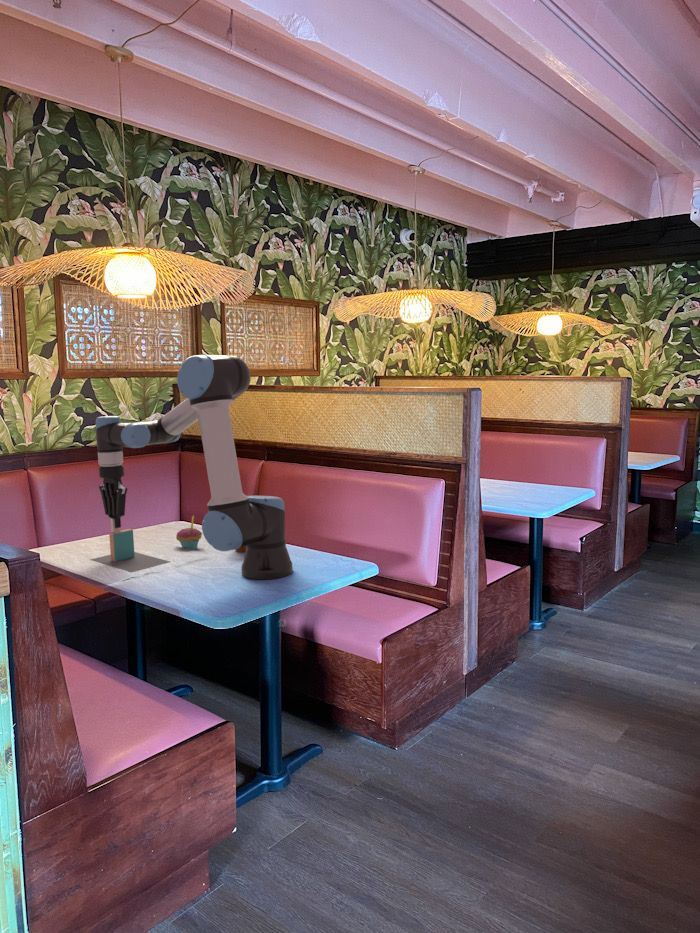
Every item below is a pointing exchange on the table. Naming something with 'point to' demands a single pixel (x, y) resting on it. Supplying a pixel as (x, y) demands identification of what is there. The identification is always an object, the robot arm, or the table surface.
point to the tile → (121, 545)
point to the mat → (132, 562)
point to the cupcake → (189, 537)
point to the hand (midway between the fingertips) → (116, 537)
